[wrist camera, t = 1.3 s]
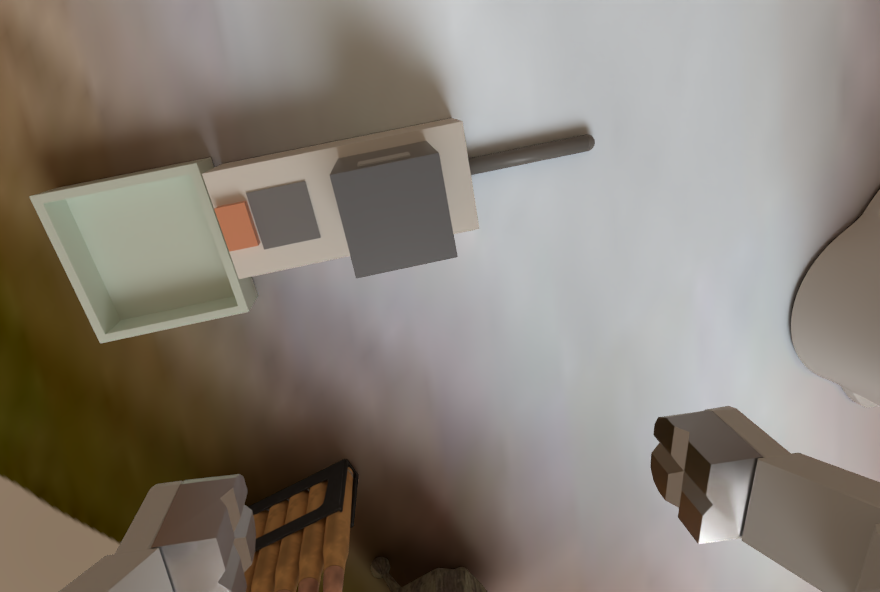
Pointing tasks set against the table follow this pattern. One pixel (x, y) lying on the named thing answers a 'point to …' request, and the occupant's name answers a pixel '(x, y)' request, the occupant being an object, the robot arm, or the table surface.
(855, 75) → the table surface
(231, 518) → the robot arm
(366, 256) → the block
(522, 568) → the table surface
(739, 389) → the table surface
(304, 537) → the ammunition clip
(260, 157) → the power strip
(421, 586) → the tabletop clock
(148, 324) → the parts tray
